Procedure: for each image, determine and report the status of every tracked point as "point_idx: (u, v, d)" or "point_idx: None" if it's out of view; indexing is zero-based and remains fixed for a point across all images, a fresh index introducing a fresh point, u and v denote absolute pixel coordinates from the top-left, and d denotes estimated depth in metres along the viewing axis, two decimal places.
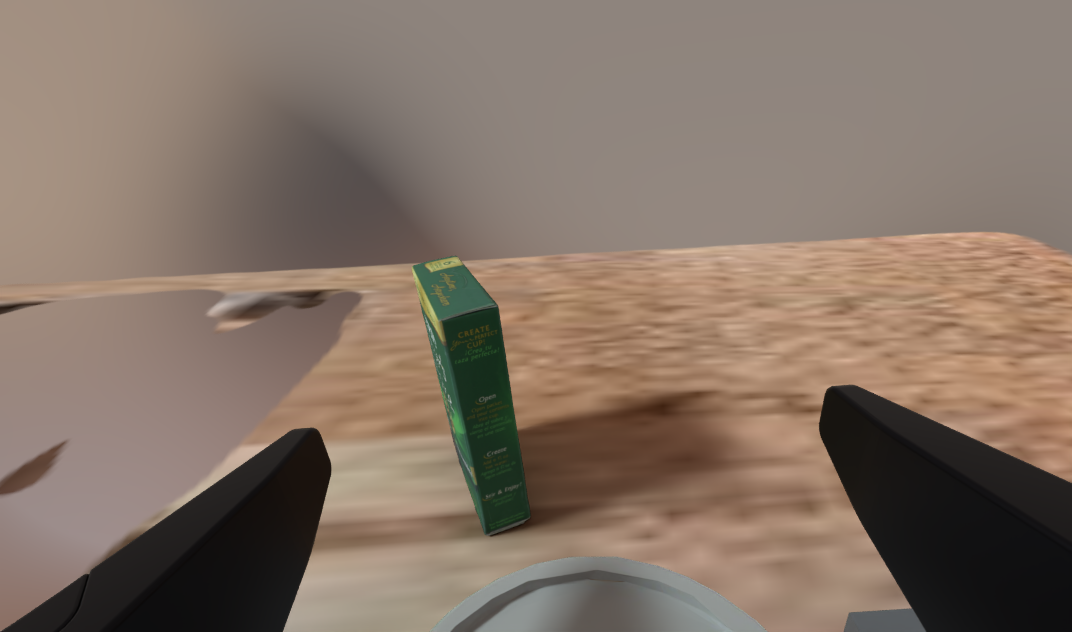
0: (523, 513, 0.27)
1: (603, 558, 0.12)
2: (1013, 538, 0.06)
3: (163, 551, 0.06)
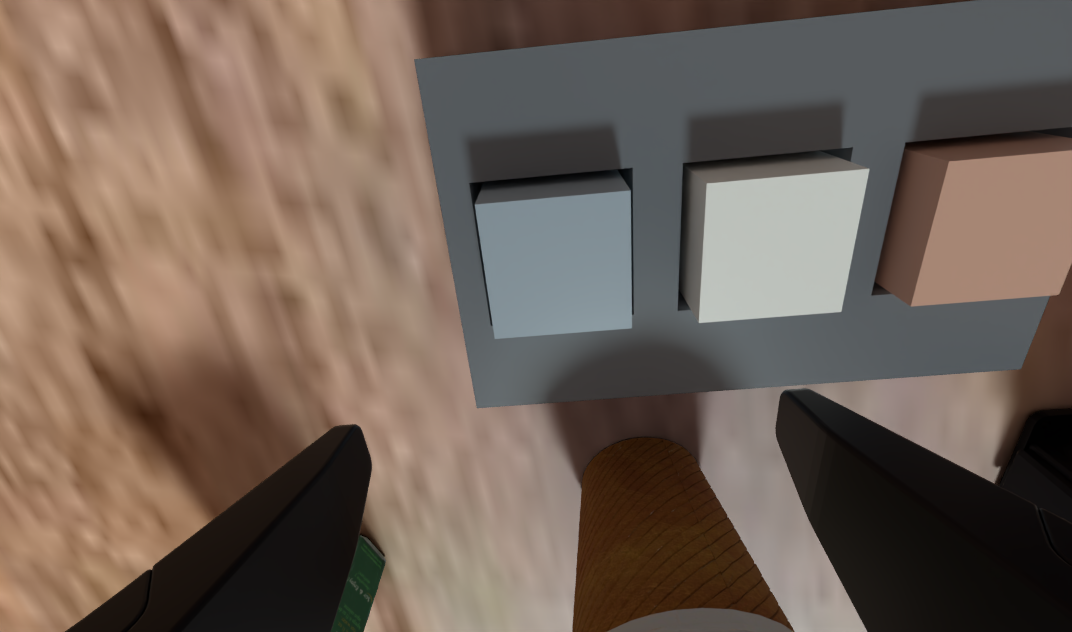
0: (362, 546, 0.29)
1: None
2: (942, 543, 0.06)
3: (224, 546, 0.06)
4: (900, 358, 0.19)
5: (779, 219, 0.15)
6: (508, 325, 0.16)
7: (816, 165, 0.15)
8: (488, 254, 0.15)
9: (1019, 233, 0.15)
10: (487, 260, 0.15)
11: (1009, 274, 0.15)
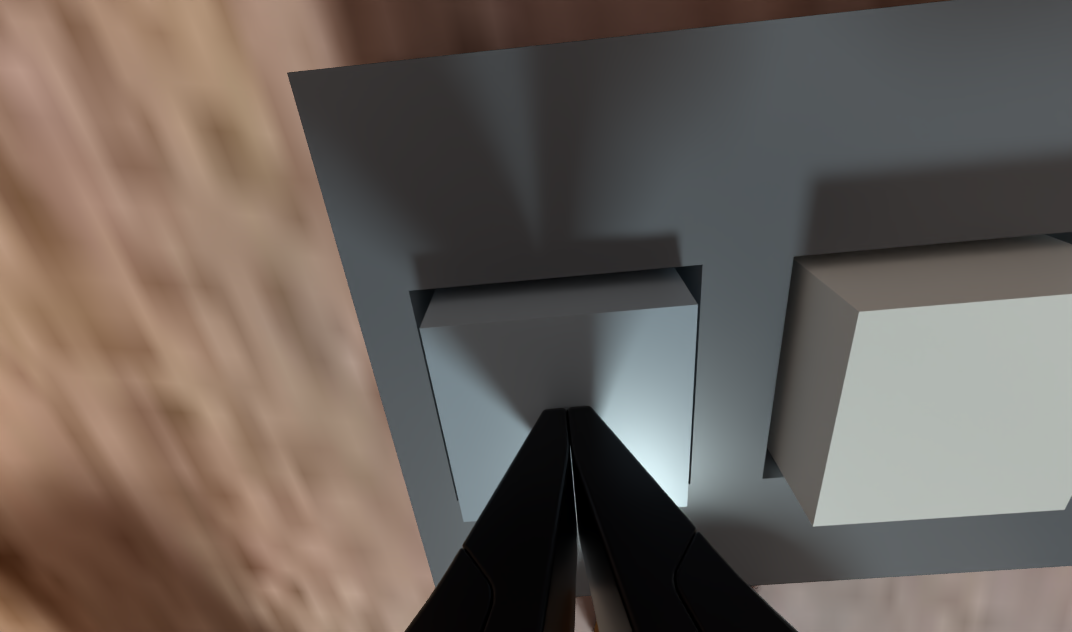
0: None
1: None
2: None
3: (526, 525, 0.06)
4: None
5: (986, 371, 0.08)
6: (485, 503, 0.10)
7: (1048, 265, 0.08)
8: (447, 404, 0.09)
9: None
10: (446, 413, 0.09)
11: None
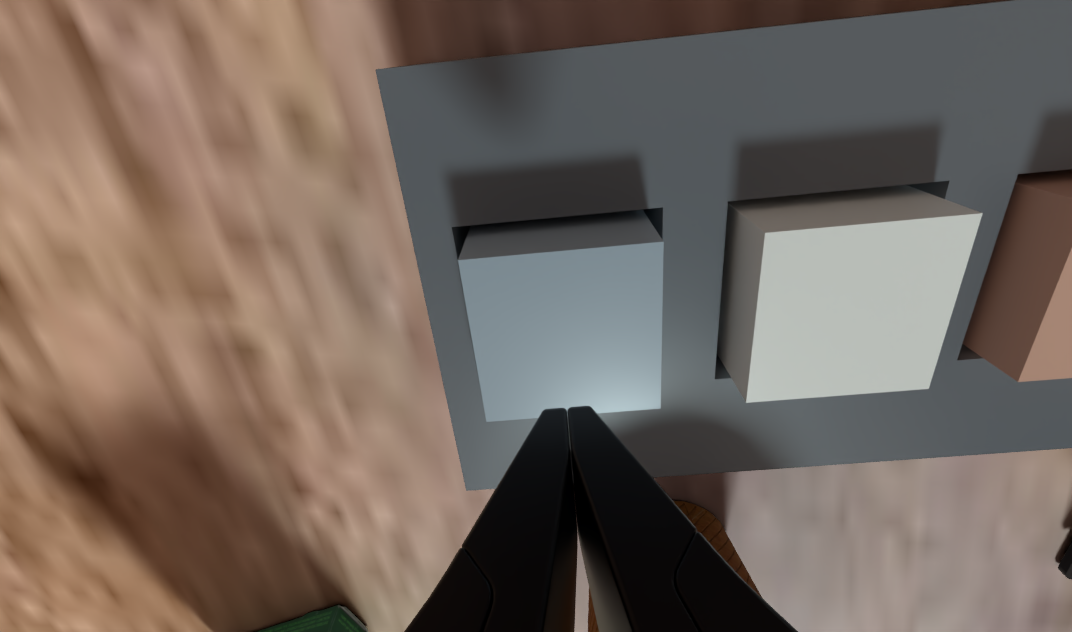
0: (340, 619, 0.25)
1: None
2: None
3: (527, 525, 0.06)
4: (986, 432, 0.15)
5: (857, 277, 0.11)
6: (503, 406, 0.13)
7: (904, 205, 0.11)
8: (476, 321, 0.12)
9: None
10: (475, 328, 0.12)
11: None
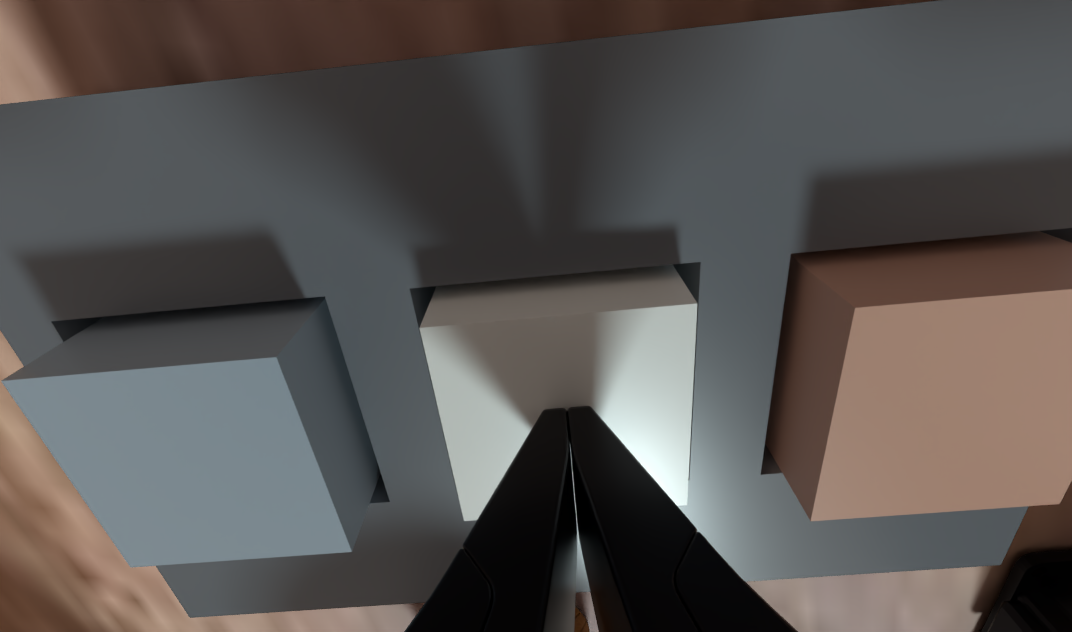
0: None
1: None
2: None
3: (527, 525, 0.06)
4: (816, 553, 0.12)
5: (557, 380, 0.09)
6: (145, 549, 0.10)
7: (625, 284, 0.09)
8: (63, 454, 0.09)
9: (991, 418, 0.08)
10: (66, 462, 0.09)
11: (974, 476, 0.09)
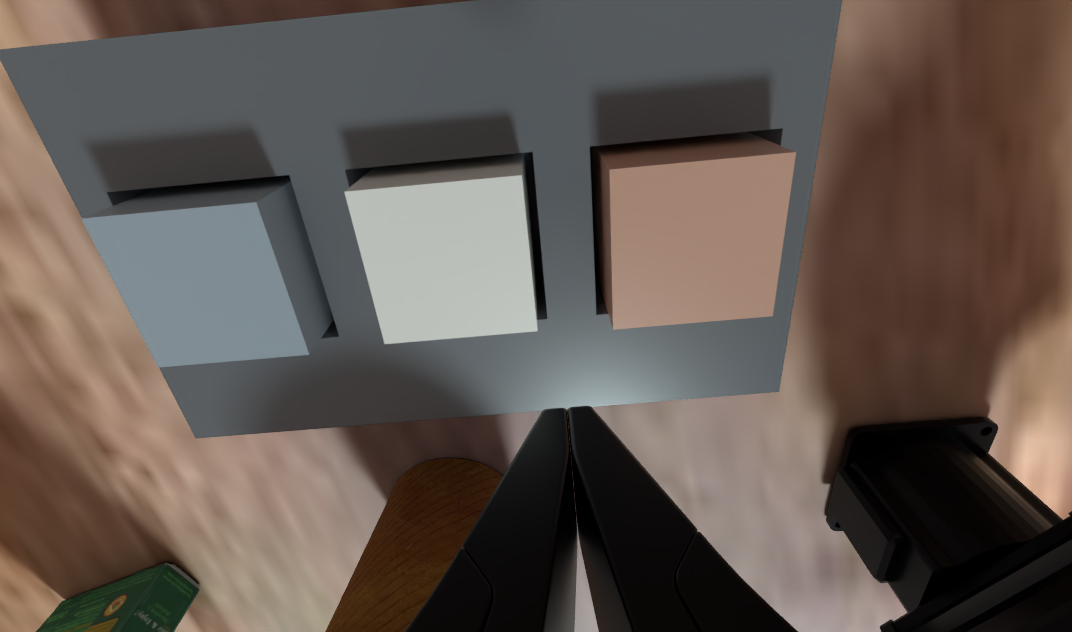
0: (165, 575, 0.27)
1: None
2: None
3: (527, 525, 0.06)
4: (645, 381, 0.17)
5: (438, 231, 0.13)
6: (168, 352, 0.15)
7: (485, 170, 0.13)
8: (117, 274, 0.13)
9: (711, 249, 0.13)
10: (118, 281, 0.14)
11: (712, 294, 0.14)
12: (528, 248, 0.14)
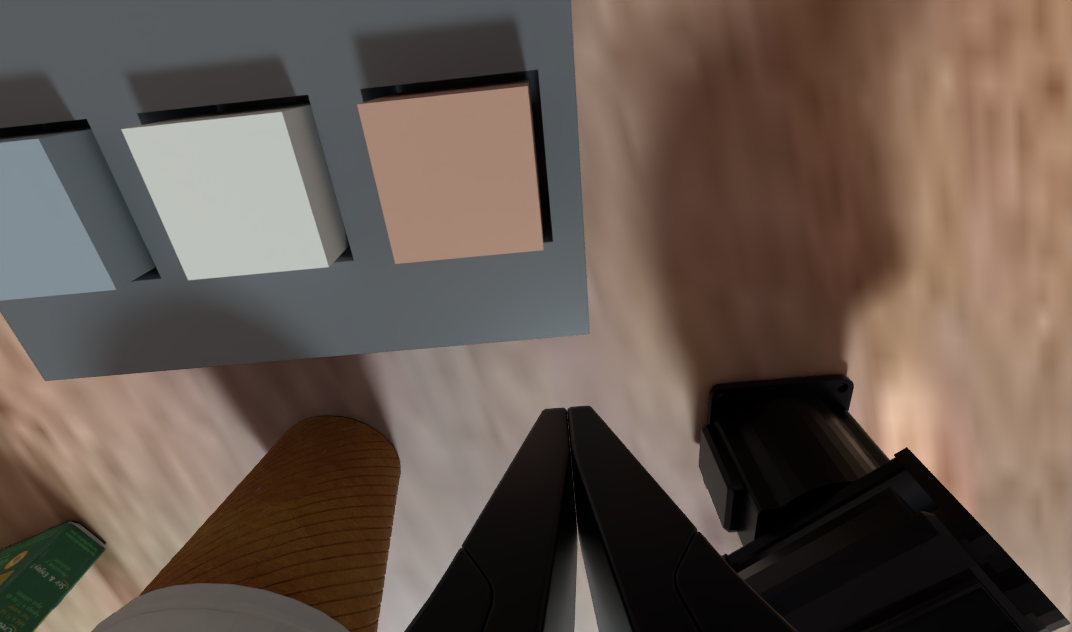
0: (68, 533, 0.28)
1: None
2: None
3: (527, 525, 0.06)
4: (459, 323, 0.18)
5: (215, 167, 0.14)
6: None
7: (262, 112, 0.14)
8: None
9: (469, 183, 0.14)
10: None
11: (480, 228, 0.15)
12: (304, 184, 0.14)
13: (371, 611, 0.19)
